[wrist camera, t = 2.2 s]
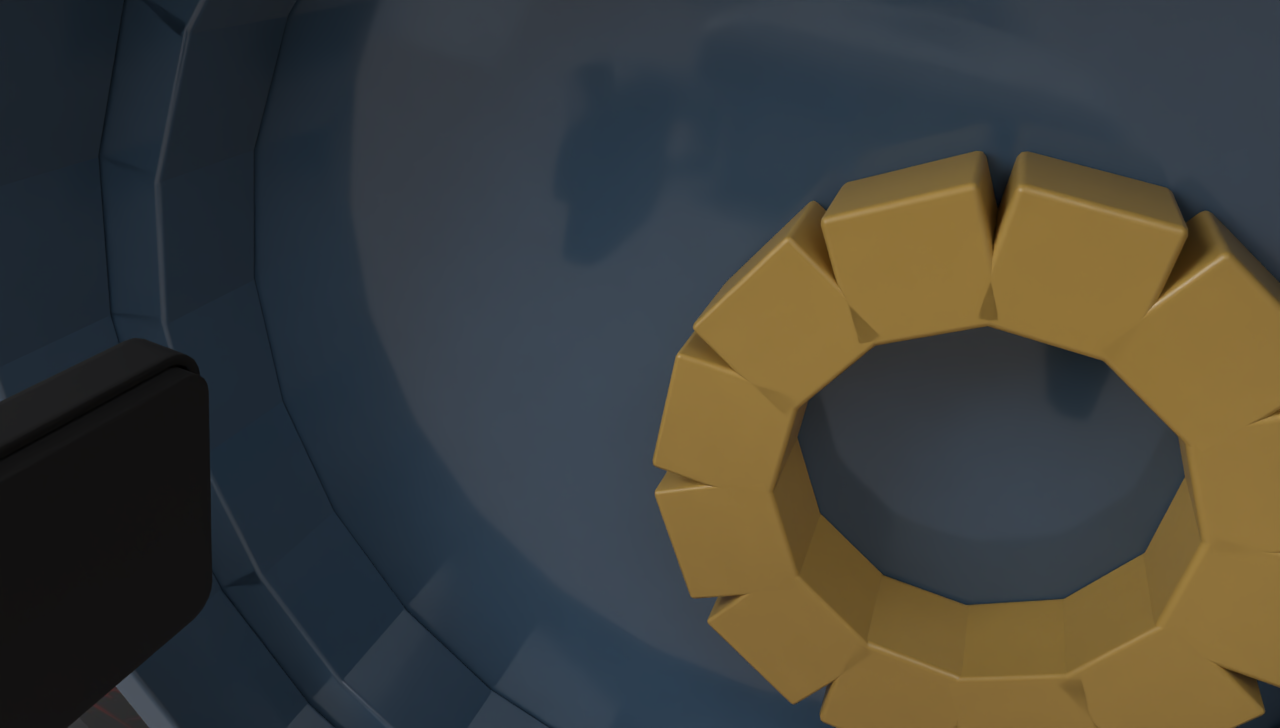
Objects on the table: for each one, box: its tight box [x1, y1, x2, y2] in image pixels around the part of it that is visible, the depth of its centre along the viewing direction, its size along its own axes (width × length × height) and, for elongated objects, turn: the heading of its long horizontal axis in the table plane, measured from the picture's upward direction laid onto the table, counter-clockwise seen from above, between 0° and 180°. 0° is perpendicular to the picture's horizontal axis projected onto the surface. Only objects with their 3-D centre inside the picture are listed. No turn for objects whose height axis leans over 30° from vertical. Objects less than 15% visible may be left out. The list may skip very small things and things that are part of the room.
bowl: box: [0, 0, 1280, 728], centre depth 13 cm, size 19×19×4 cm
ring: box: [653, 151, 1280, 728], centre depth 13 cm, size 8×8×2 cm
